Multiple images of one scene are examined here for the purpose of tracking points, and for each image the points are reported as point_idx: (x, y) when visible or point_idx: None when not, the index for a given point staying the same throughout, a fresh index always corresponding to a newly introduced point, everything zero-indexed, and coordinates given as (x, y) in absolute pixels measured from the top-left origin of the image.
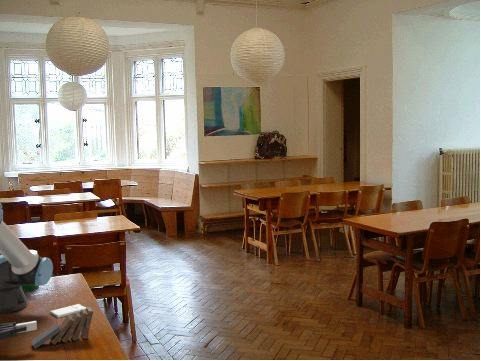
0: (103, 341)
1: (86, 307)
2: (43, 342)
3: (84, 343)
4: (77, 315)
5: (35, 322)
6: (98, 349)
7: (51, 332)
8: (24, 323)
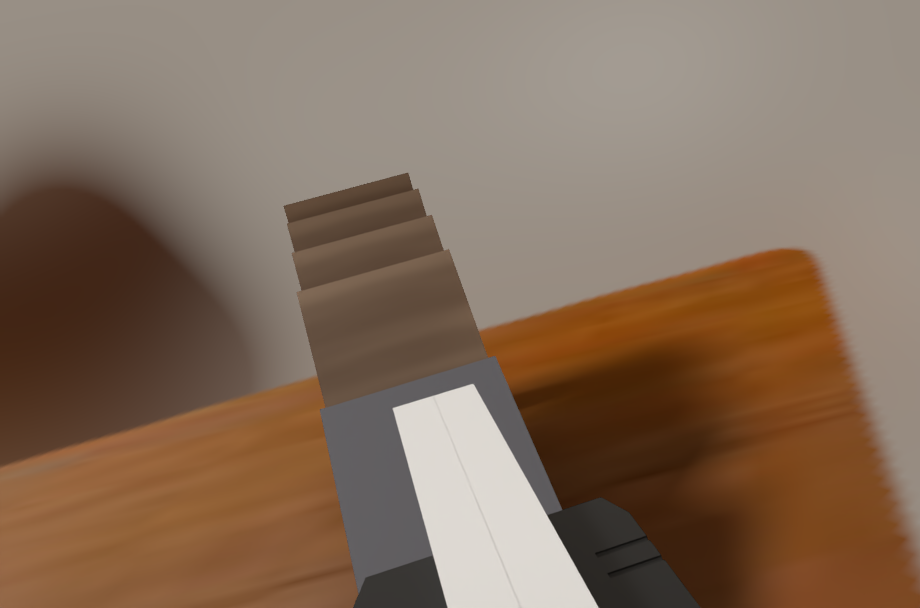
0: (556, 335)
1: (291, 206)
2: None
3: (568, 396)
4: (415, 221)
5: (478, 396)
6: (700, 318)
7: (529, 439)
8: (487, 514)
